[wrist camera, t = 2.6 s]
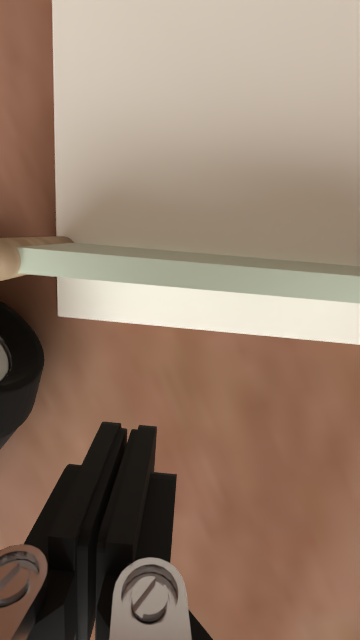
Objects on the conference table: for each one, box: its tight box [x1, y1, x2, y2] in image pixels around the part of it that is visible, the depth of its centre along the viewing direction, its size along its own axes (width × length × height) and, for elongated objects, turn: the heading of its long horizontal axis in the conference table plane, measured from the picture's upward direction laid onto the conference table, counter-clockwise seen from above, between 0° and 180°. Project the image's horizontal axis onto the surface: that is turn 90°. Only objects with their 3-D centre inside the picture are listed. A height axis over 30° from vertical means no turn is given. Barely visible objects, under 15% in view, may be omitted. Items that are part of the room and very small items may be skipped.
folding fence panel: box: [0, 236, 360, 303], centre depth 15 cm, size 18×2×6 cm, turn 86°
